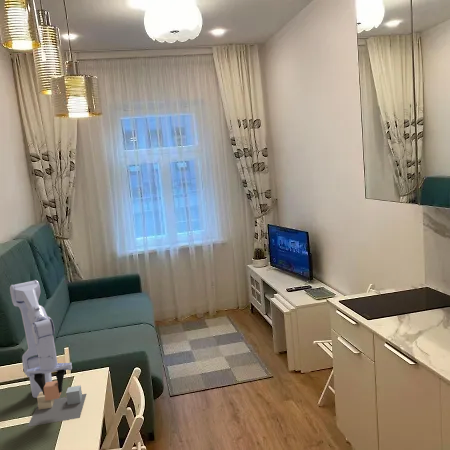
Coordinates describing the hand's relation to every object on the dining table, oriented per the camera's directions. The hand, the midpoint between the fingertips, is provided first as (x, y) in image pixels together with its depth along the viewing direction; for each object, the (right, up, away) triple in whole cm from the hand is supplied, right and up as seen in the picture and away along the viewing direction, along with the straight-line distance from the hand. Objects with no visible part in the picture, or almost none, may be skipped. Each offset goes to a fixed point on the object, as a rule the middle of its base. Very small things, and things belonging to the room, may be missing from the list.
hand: (53, 392), depth 164 cm
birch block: (-5, -8, +9) cm, 13 cm away
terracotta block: (0, -1, 0) cm, 1 cm away
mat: (0, -8, +5) cm, 9 cm away
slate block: (+4, -7, +10) cm, 13 cm away
